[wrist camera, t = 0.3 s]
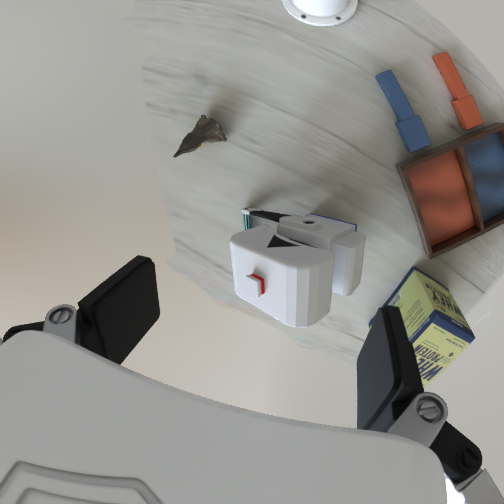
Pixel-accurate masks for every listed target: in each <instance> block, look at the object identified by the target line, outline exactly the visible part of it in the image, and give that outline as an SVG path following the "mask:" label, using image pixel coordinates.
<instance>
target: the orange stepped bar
mask: <svg viewBox="0 0 504 504" xmlns="http://www.w3.org/2000/svg"><path fill="white" fill-rule="evenodd" d="M432 59H433V60H434V62H435V64H436V66H437V67H438V69H439V71H440V73H441V75H442V77H443V79H444V81H445V83H446V85H447V87H448V89H449V91H450V93H451V95H452V97H453V99H454V101H451V103H452V106H453V108H454V110H455V113H456V115H457V117H458V120H459V122H460V125H461V127H462V129H470V128H472V127H475V126H477V125H480V124H482V123H483V121H482V118H481V116H480V113H479V111H478V108H477V106H476V103H475V101H474V99H473V96H472V95H469V94H468V92H467V90H466V88H465V85H464V83H463V81H462V79H461V77H460V75H459V73H458V71H457V69H456V67H455V66H454V64H453V62H452V60H451V58H450V56H449V55H448V53H447V52H444V53H441V54H437V55H435V56H434V57H432Z"/></svg>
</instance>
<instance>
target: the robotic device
mask: <svg viewBox="0 0 504 504" xmlns="http://www.w3.org/2000/svg"><path fill="white" fill-rule="evenodd" d="M242 213H243V214H244V227H245V231H242V232H239V233H237V234H235V235H233V236H232V237H231V239H230V250H231V260H232V269H233V278H234V288H235V292H236V293H237V295H238V296H239V297H241V298H243V299H244V300H246V301H247V302H249V303H251V304H252V305H254V306H256V307H257V308H259V309H261V310H262V311H264V312H266V313H267V314H269V315H271V316H272V317H274V318H276V319H278V320H279V321H281V322H283V323H284V324H286V325H289V326H292V327H295V328H303V327H308V326H311V325H313V324H315V323H317V322H318V321H319V320H321V319H322V318H323V317H324V316H326V315H327V314H328V313H329V311H330V303H331V293H332V291H333V292H335V293H338V294H340V295H343V296H349V295H351V294H352V293H353V291H354V290H355V289H356V288H357V286H358V285H359V284H360V280H361V273H362V264H363V256H364V246H365V236H364V235H362V234H360V233H358V232H356V229H357V225H356V224H352V223H348V222H344V221H340V220H336V219H332V218H328V217H324V216H320V215H315V214H308V215H306V217H302V216H297V215H292V216H291V215H285V214H279V213H273V212H267V211H263V210H261V209H255V208H245V209H242ZM250 215H254V216H259V217H262V218H265V219H269V220H272V221H276V222H279V225H278V226H277V233H276V232H275V231H273V230H272V229H271V228H270V227H269V226H268V225H265V224H264V225H260V226H257V227H254V228H251V220H250Z"/></svg>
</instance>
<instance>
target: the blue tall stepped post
mask: <svg viewBox="0 0 504 504" xmlns="http://www.w3.org/2000/svg"><path fill="white" fill-rule="evenodd" d="M375 78H376V79H377V81H378V83H379V85H380V86H381V88H382V90H383V92H384V93H385V95H386V97H387V99H388V101H389V103H390V105H391V107H392V109H393V111H394V113H395V115H396V117H397V119H398V121H399V122H396V123H395V125H396V127H397V129H398V131H399V133H400V135H401V138H402V140H403V142H404V144H405V147H406V149H407V151H408V152H414V151H416V150H419V149H421V148H423V147H426V146H428V145H431V142H430V139H429V137H428V134H427V132H426V130H425V127H424V125H423V123H422V121H421V118H420V116H419V115H414V113H413V111H412V109H411V107H410V105H409V103H408V101H407V99H406V97H405V95H404V93H403V91H402V89H401V87H400V85H399V84H398V82H397V80H396V78H395V76H394V75H393V73H392V71H391V70H388V71H385V72H383V73H380V74H378V75H377V76H376V77H375Z"/></svg>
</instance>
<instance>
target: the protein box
mask: <svg viewBox="0 0 504 504" xmlns="http://www.w3.org/2000/svg"><path fill="white" fill-rule="evenodd" d="M384 305H392V306H398V307H399V308H400V312H401V315H402V318H403V321H404V325H405V328H406V332H407V335H408V339H409V341H410V342H412V344H413V347H414V351H415V355H416V359H417V363H418V367H419V371H420V375H421V379H422V384H423V388H424V387H426V386H427V385H428V384H429V383H430V382H431V381H433V380H434V379H435V378H436V377H437V376H438V375H439V374H440V373H441V372H442V371H443V370H444V369H445V368H447V367H448V366H449V365H450V363H451V362H452V361H454V359H455V358H457V356H459V354H461V352H462V351H464V349H465V348H466V347H467V346H468V345H469V344H470V343H471V342H472V341H473V340H474V339H475V336H474V334H473V332H472V330H471V329H470V327H469V325H468V323H467V321H466V319H465V317H464V316H463V314H462V312H461V310H460V309H459V307H458V305H457V304H456V302H455V300H454V298H453V297H452V295H451V293H450V292H449V290H448V289H447V288H446V287H445V286H443V285H442V284H440V283H439V282H437V281H436V280H434V279H433V278H431V277H430V276H428V275H426V274H425V273H423V272H422V271H420V270H418V269H417V268H415V267H414V266H413V267H412V268H411V269H410V271H409V272H408V274H407V275H406V276H405V278H404V279H403V281H402V282H401V283H400V285H399V286H398V287H397V289H396V290H395V291H394V293H393V294H392V295H391V296H390V298H389V299H388V300H387V302H386V303H385V304H384ZM384 305H383V307H384ZM383 307H382V308H383ZM375 316H376V315H375ZM375 316H374V318H373V319H372V320H371V321H370V322H369V330H370V329H371V326H372V324H373V321H374V319H375Z"/></svg>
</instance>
